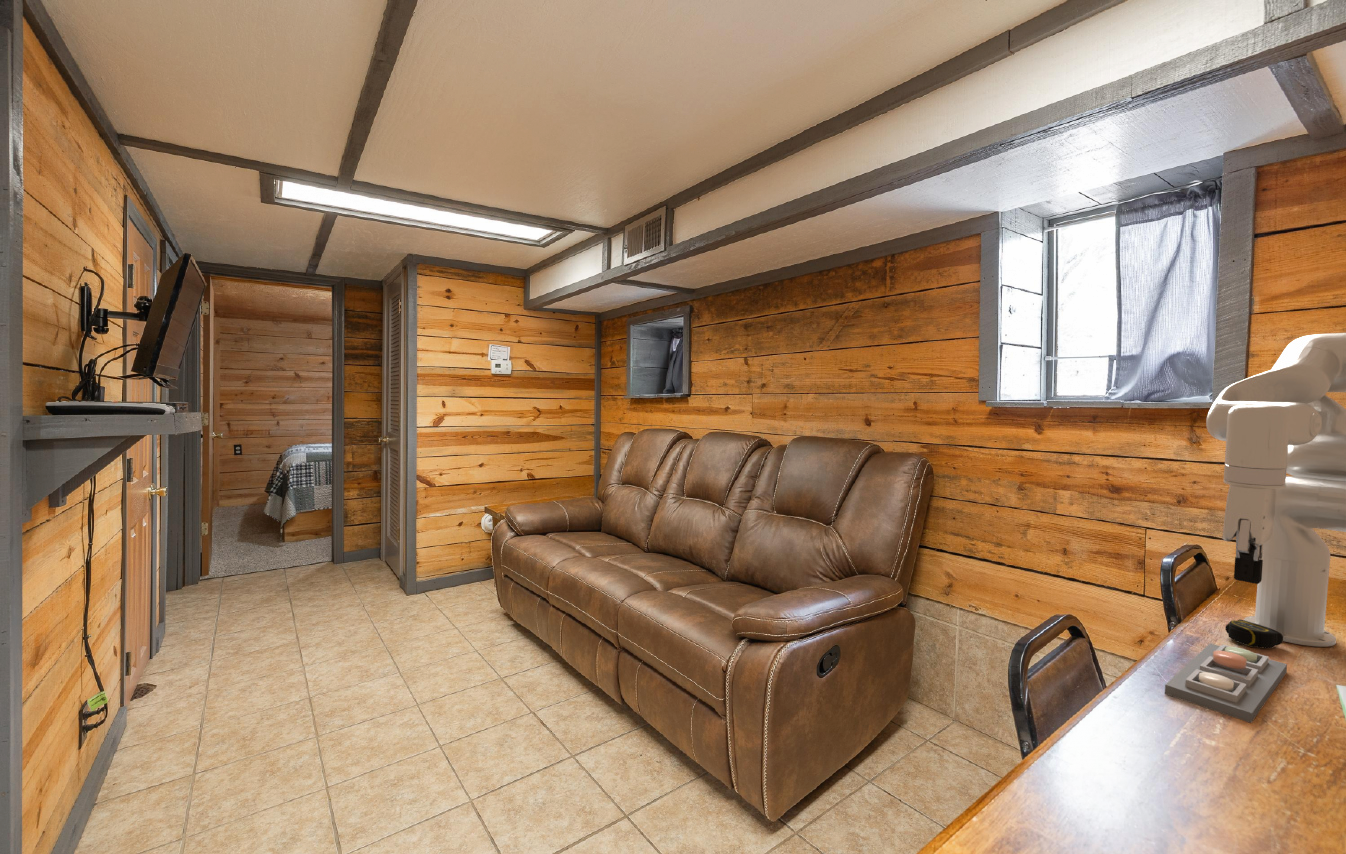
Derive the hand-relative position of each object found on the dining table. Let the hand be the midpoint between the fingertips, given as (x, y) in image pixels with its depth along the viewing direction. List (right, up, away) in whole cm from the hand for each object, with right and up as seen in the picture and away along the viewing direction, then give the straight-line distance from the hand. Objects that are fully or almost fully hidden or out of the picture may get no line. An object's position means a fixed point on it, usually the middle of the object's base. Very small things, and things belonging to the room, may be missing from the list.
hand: (1247, 580), depth 101 cm
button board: (-7, -16, -4) cm, 18 cm away
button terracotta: (-7, -13, -4) cm, 15 cm away
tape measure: (+12, -15, +11) cm, 23 cm away
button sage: (-1, -14, +1) cm, 14 cm away
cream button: (-14, -14, -9) cm, 22 cm away
